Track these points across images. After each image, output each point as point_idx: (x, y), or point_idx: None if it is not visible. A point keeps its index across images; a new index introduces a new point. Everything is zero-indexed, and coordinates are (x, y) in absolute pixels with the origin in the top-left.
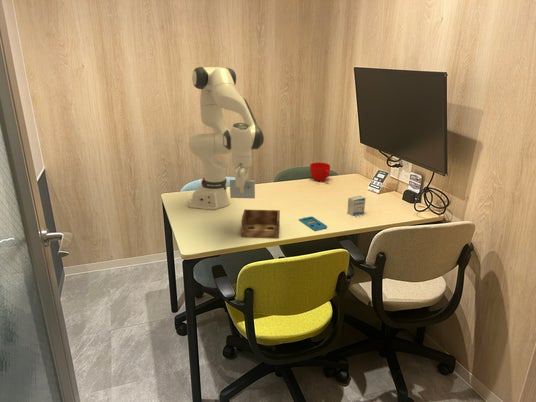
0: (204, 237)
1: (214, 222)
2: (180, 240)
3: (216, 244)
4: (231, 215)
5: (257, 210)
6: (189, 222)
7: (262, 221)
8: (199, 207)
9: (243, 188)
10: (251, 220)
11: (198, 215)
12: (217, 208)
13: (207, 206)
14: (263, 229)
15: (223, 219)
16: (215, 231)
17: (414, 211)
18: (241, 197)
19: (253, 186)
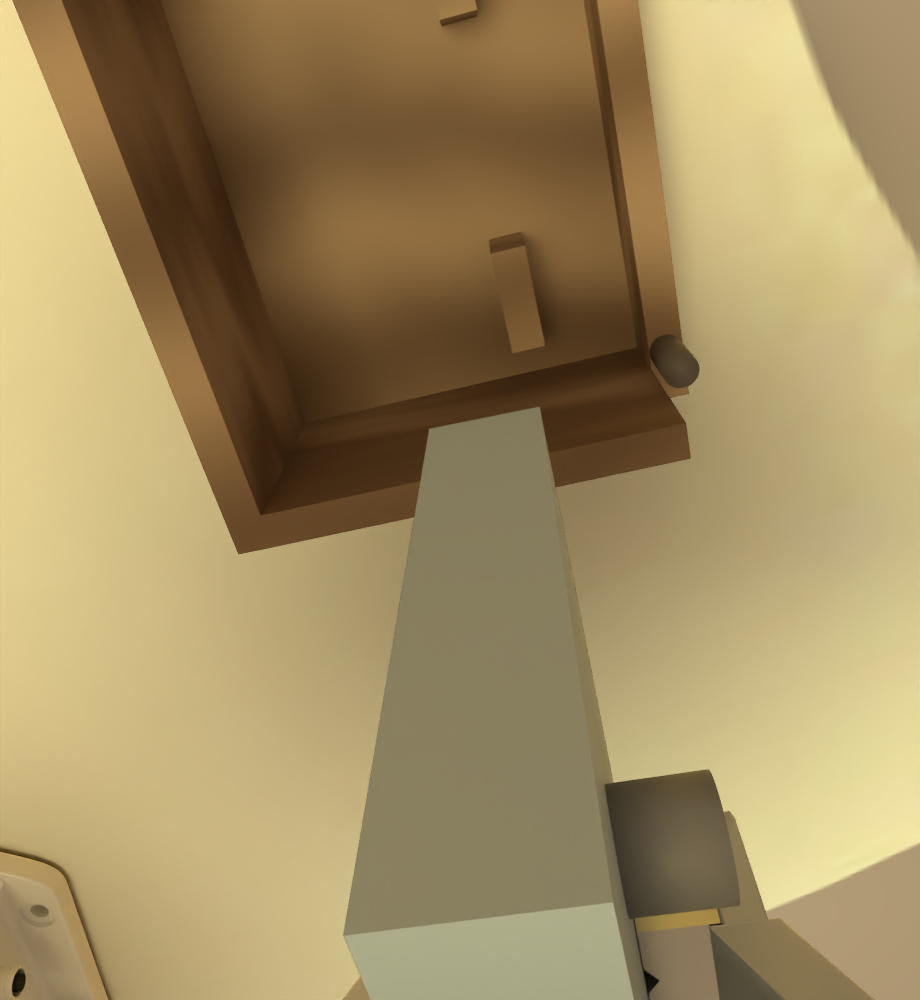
0: (751, 723)
1: (363, 763)
2: (848, 872)
3: (907, 561)
4: (101, 673)
5: (182, 326)
6: None
7: (214, 196)
8: (98, 994)
9: (800, 946)
10: (271, 371)
11: (260, 936)
12: (13, 856)
13: (47, 950)
14: (413, 109)
15: (249, 711)
16: None
17: None
18: (604, 740)
19: (583, 690)
